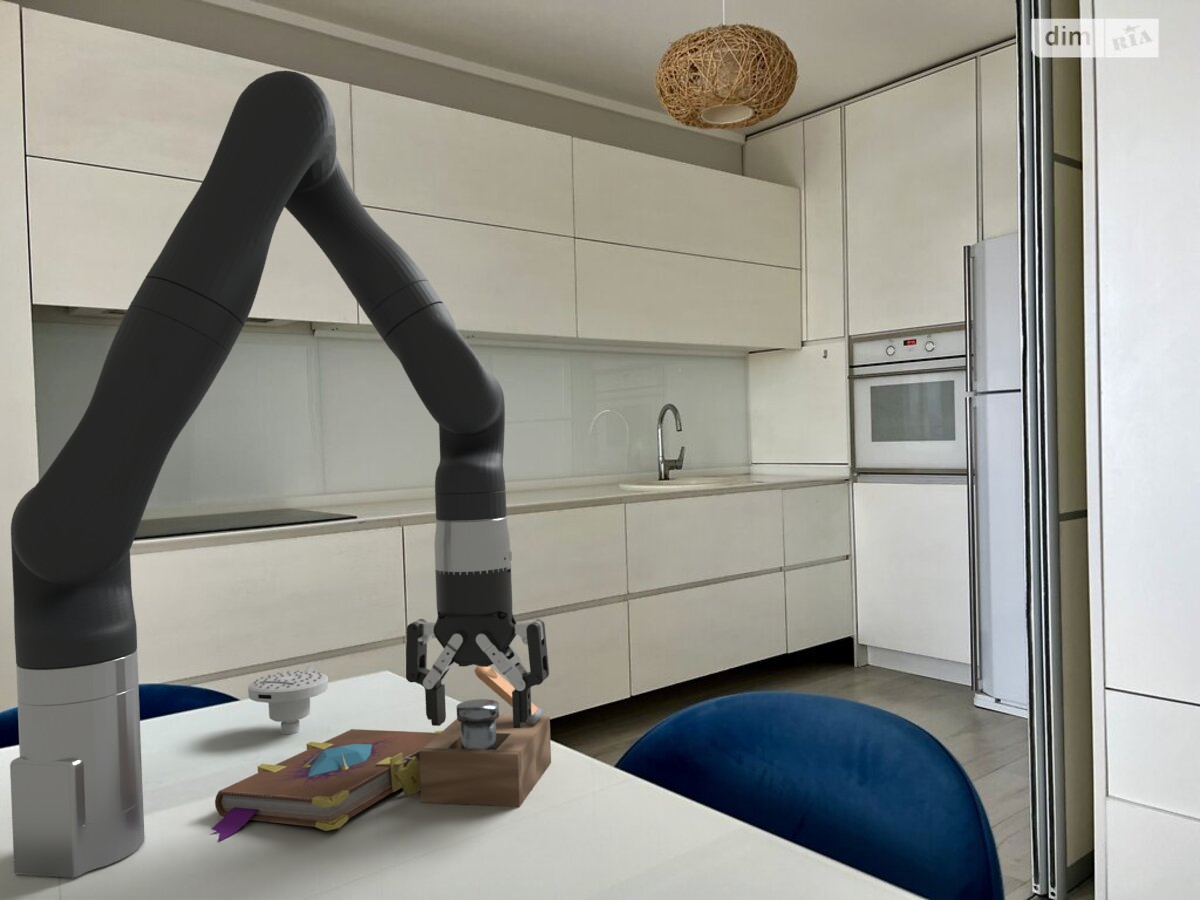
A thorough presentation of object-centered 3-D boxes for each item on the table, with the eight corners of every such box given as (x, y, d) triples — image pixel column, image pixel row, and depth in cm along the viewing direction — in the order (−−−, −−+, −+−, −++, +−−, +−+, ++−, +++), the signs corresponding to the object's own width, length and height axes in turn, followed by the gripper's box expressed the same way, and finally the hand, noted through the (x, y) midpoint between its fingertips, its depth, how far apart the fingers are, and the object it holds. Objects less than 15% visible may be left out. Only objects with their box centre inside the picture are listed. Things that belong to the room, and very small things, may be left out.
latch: (532, 727, 95) (538, 719, 95) (470, 673, 96) (475, 665, 96) (539, 718, 97) (545, 711, 97) (478, 666, 99) (484, 659, 99)
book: (175, 848, 83) (171, 793, 83) (350, 758, 105) (347, 715, 105) (315, 865, 76) (311, 805, 76) (470, 765, 99) (466, 720, 99)
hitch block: (519, 806, 86) (517, 754, 86) (421, 802, 88) (419, 751, 88) (551, 762, 98) (549, 716, 98) (463, 759, 100) (461, 714, 100)
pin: (494, 799, 88) (491, 711, 88) (453, 798, 89) (450, 710, 89) (506, 783, 92) (504, 699, 92) (467, 782, 93) (464, 698, 93)
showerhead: (345, 664, 116) (297, 684, 106) (347, 720, 116) (299, 746, 106) (282, 661, 119) (230, 681, 109) (284, 716, 119) (233, 741, 109)
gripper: (390, 569, 88) (397, 735, 88) (531, 568, 85) (537, 739, 85) (421, 559, 95) (426, 712, 96) (551, 557, 93) (557, 715, 93)
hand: (479, 724), depth 90 cm, fingers open, 8 cm apart
